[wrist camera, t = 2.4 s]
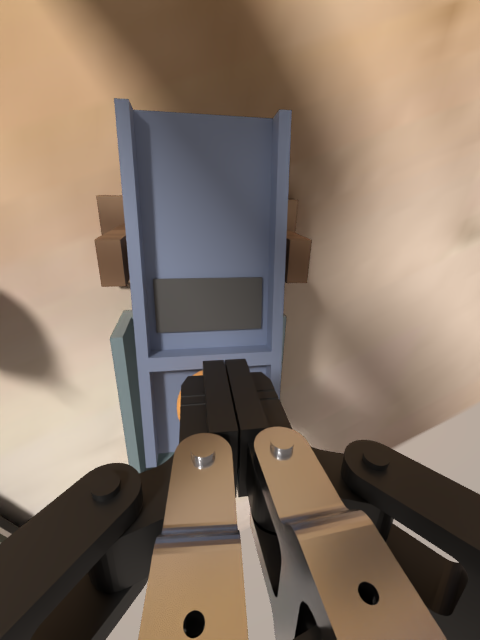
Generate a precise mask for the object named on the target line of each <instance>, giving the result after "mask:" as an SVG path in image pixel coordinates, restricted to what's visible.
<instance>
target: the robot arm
mask: <svg viewBox="0 0 480 640" xmlns="http://www.w3.org/2000/svg"><path fill="white" fill-rule="evenodd" d="M236 489H237V490H238V496H239V497H244V496H248V498H249V503H250V527H251V530H252V534H253V538H254V542H255V546H256V549H257V553H258V557H259V561H260V565H261V568H262V572H263V576H264V580H265V583H266V587H267V591H268V594H269V599H270V603H271V607H272V613H273V620H274V631H275V638H276V640H480V495H479V494H478V493H476V492H474V491H472V490H470V489H468V488H466V487H464V486H462V485H460V484H458V483H456V482H455V481H453V480H451V479H449V478H447V477H445V476H443V475H441V474H439V473H437V472H435V471H433V470H431V469H429V468H427V467H426V466H424V465H422V464H420V463H418V462H416V461H414V460H412V459H410V458H408V457H406V456H404V455H402V454H400V453H398V452H397V451H395V450H393V449H391V448H389V447H387V446H385V445H383V444H381V443H378V442H374V441H370V440H358V441H354V442H352V443H350V444H349V445H348V446H347V447H346V449H345V452H344V454H341V453H335V452H329V451H323V450H319V449H316V448H313V447H311V446H310V445H309V443H308V442H307V440H306V439H305V438H304V437H303V436H302V435H301V434H300V433H298V432H296V431H295V430H292V427H291V425H290V423H289V421H288V418H287V416H286V414H285V411H284V409H283V407H282V405H281V402H280V400H279V399H278V395H277V393H276V391H275V388H274V386H273V384H272V382H271V379H269V378H268V377H267V376H266V375H265V374H263V373H262V372H250V370H249V367H248V364H247V361H246V359H228V360H225V361H224V360H210V361H203V375H199V376H187V378H186V379H185V381H184V382H183V383H182V385H181V402H180V430H179V445H178V446H177V448H176V450H175V453H174V454H173V455H172V456H171V457H170V458H169V459H168V460H167V461H166V462H164V463H163V464H161V465H159V466H157V467H155V468H152V469H150V470H147V471H144V472H142V473H138V471H137V470H136V469H135V468H134V467H132V466H130V465H128V464H124V463H111V464H106V465H103V466H100V467H98V468H95V469H94V470H92V471H90V472H89V473H87V474H86V475H85V476H83V477H82V478H81V479H80V480H78V481H77V482H76V483H75V484H73V485H72V486H71V487H70V488H68V489H67V490H66V491H65V492H64V493H62V494H61V495H60V496H59V497H57V498H56V499H55V500H54V501H52V502H51V503H50V504H49V505H47V506H46V507H45V508H44V509H42V510H41V511H40V512H39V513H38V514H36V515H35V516H34V517H33V518H31V519H30V520H29V521H28V522H26V523H25V524H24V525H23V526H21V527H20V528H19V529H18V530H16V531H15V532H14V533H13V534H12V535H10V536H9V537H8V538H7V539H5V540H4V541H3V542H2V543H0V640H106V638H107V637H108V636H109V634H110V633H111V632H112V630H113V629H114V627H115V626H116V625H117V623H118V622H119V621H120V619H121V618H122V616H123V615H124V614H125V612H126V611H127V610H128V608H129V607H130V606H131V604H132V603H133V601H134V600H135V599H136V597H137V596H138V594H139V593H140V592H141V590H142V589H143V588H144V586H145V585H146V583H147V581H148V584H147V590H146V596H145V602H144V608H143V614H142V620H141V626H140V632H139V638H138V640H248V629H247V616H246V603H245V590H244V578H243V564H242V552H241V540H240V532H239V530H238V528H237V515H236V501H235V498H236ZM393 519H395V520H397V521H398V522H400V523H401V524H403V525H404V526H406V527H407V528H409V529H411V530H412V531H414V532H415V533H417V534H418V535H420V536H421V537H423V538H424V539H426V540H428V541H429V542H431V543H432V544H434V545H435V546H437V547H438V548H440V549H441V550H443V551H444V552H446V553H447V554H449V555H450V556H452V557H453V558H455V559H456V560H457V561H458V562H459V563H455V562H452V561H449V560H447V559H446V558H444V557H442V556H441V555H439V554H438V553H436V552H435V551H433V550H432V549H430V548H428V547H427V546H426V545H424V544H423V543H421V542H420V541H418V540H416V539H415V538H414V537H412V536H411V535H409V534H408V533H406V532H405V531H403V530H401V529H400V528H399V527H397V526H396V525H394V524H393V523H392V522H393Z"/></svg>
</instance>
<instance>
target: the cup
mask: <svg viewBox="0 0 480 640" xmlns="http://www.w3.org/2000/svg"><path fill="white" fill-rule="evenodd" d="M285 327H286V316H285V314H284V313H283V334H282V359H281V372H282V361H283V350H284V338H285ZM110 343H111V349H112V356H113V362H114V369H115V376H116V382H117V389H118V396H119V402H120V409H121V415H122V422H123V429H124V435H125V442H126V449H127V455H128V462H129V465H130V466H132V467H134V468H135V469H136V470H137V471H138V473H142V472H144V471H147V470H150V469H152V468H155V467H151V468H146V460H145V449H144V437H143V426H142V414H141V403H140V391H139V380H138V368H137V357H136V345H135V334H134V322H133V311H132V310H125V311H123V313H122V315H121V317H120V319H119V321H118V323H117V325H116V327H115V329H114V331H113V333H112V335H111V337H110ZM174 453H175V452H169V453H159V454H158V461H157V466H159V465H161V464H163V463H164V462H166V461H167V460H168V459H169V458H170V457H171V456H172V455H173V454H174Z"/></svg>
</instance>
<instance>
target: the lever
mask: <svg viewBox="0 0 480 640" xmlns="http://www.w3.org/2000/svg"><path fill="white" fill-rule="evenodd" d="M114 103H115V115H116V126H117V138H118V149H119V161H120V172H121V184H122V195H123V207H124V218H125V230H126V241H127V253H128V264H129V276H130V287H131V299H132V311H133V322H134V334H135V345H136V357H137V368H138V380H139V391H140V403H141V414H142V426H143V437H144V449H145V460H146V468H151V467H157V461H158V454H159V453H169V452H175V450H176V448H177V446H178V445H179V430H180V421H179V419H178V415H177V399H178V395H179V392H180V390H181V385H182V383H183V382H184V381H185V379H186V378H187V376H193V375H194V374H195V373H197V372H199V371H202V370H203V361H210V360H224V361H225V360H228V359H246V361H247V364H248V367H249V370H250V372H262V373H263V374H265V375H266V376H267V377H268V378H269V379H271V382H272V384H273V386H274V388H275V391H276V393H277V395H278V399H279V400H280V383H281V359H282V334H283V310H284V285H285V261H286V237H287V212H288V188H289V163H290V139H291V114H292V110H280V109H279V111H278V112H277V113H276V115H275V116H274V118H273V119H272V118H256V117H240V116H224V115H208V114H192V113H176V112H160V111H144V110H133V108H132V106H131V104H130V102H129V99H117V98H114Z"/></svg>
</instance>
